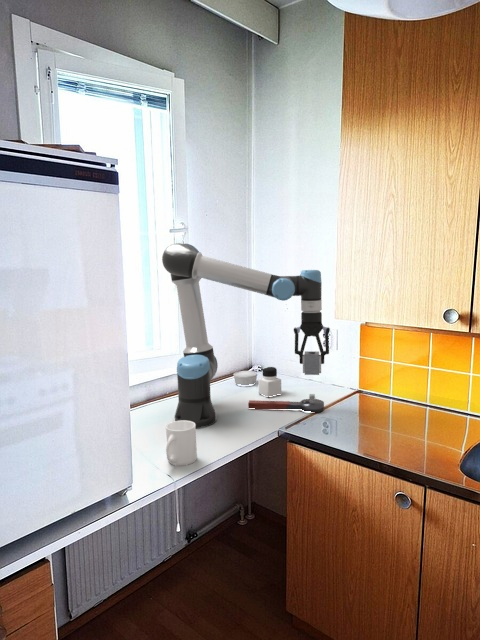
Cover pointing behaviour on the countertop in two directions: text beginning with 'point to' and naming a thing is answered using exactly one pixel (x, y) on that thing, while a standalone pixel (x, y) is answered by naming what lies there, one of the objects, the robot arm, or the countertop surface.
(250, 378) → the ramekin
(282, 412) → the countertop surface
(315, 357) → the socket
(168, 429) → the mug
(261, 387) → the medicine bottle
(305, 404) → the ratchet
